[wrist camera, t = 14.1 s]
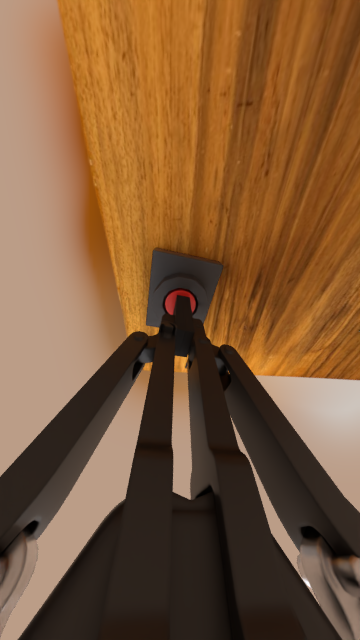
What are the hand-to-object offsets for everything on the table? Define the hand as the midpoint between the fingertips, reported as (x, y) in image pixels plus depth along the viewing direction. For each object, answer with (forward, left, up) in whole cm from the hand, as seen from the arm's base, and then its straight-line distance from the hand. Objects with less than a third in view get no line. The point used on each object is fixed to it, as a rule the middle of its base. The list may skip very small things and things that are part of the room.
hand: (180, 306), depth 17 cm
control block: (0, 0, -4) cm, 4 cm away
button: (0, 0, -2) cm, 2 cm away
